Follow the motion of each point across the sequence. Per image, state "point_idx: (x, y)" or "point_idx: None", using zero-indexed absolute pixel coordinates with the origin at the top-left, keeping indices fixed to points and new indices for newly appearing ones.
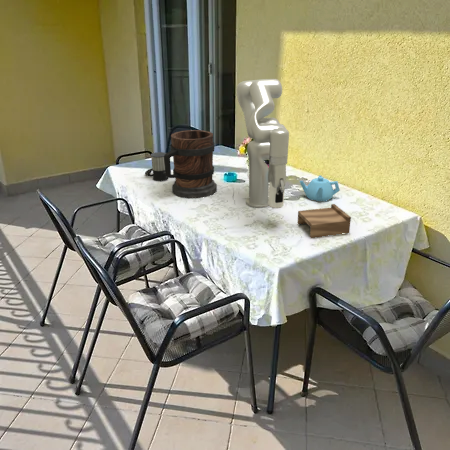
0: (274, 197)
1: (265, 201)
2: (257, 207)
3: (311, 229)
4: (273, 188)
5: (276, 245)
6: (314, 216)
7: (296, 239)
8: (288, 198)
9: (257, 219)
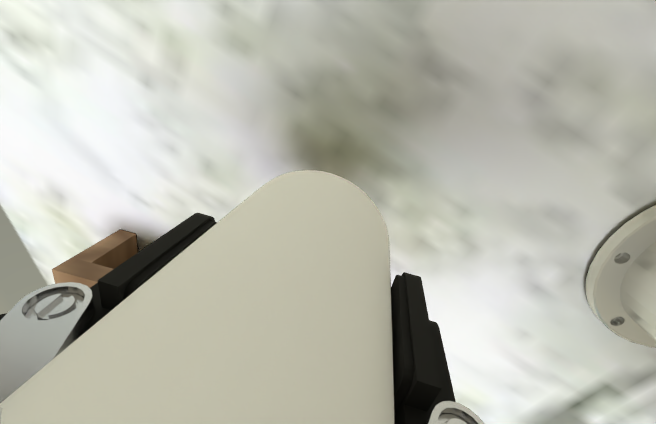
0: (193, 242)
1: (633, 300)
2: (629, 220)
3: (85, 253)
4: (54, 361)
5: (62, 10)
6: None
7: (119, 163)
8: (580, 416)
9: (459, 111)
